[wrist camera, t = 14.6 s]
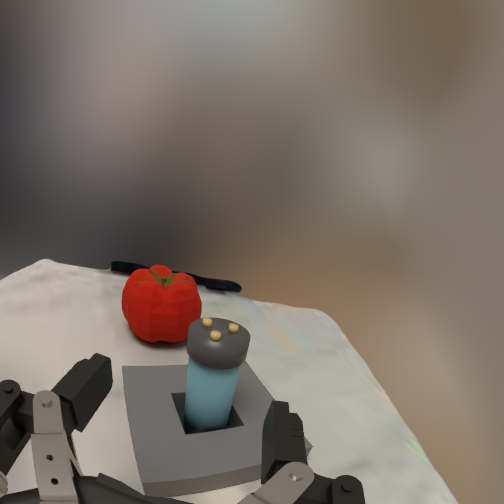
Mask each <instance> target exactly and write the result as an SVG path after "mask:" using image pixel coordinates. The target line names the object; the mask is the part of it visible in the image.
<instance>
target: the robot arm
mask: <svg viewBox="0 0 504 504" xmlns="http://www.w3.org/2000/svg"><path fill="white" fill-rule="evenodd" d="M112 383H113V378H112V368H111V359H110V358H109V357H106V356H103V355H101V354H98V353H95V354H94V355H93V356H92V357H91V358H90V359H89V360H88V359H83V360H81V361H79V362H77V363H76V364H75V365H74V366H73V367H72V369H70V370H69V372H68V373H67V374H66V375H65V376H64V377H63V378H62V379H61V380H60V381H59V382H58V383H57V384H56V386H55V387H54V388H53V389H52V390H51V391H46V390H45V391H40V392H38V393H37V394H36V395H35V394H31V393H27V392H24V391H21V389H20V386H19V384H18V383H17V382H15V381H13V380H4V381H2V382H0V504H193V503H188V502H184V501H180V500H176V499H172V498H164V497H153V496H145V495H142V494H141V493H139V492H137V491H135V490H134V489H132V488H131V487H129V486H127V485H126V484H124V483H123V482H121V481H118V480H116V479H113V478H111V477H109V476H106V475H104V474H102V473H99V475H98V477H93V476H83V474H82V471H81V469H80V466H79V463H78V459H77V455H76V450H75V446H74V441H73V437H72V432H73V430H74V429H76V430H78V431H80V432H82V431H83V430H84V428H85V427H86V425H87V424H88V422H89V421H90V419H91V418H92V416H93V415H94V413H95V412H96V411H97V409H98V408H99V406H100V405H101V403H102V402H103V400H104V399H105V397H106V396H107V394H108V393H109V392H110V390H111V387H112ZM8 419H9V420H8ZM7 420H8V421H7ZM4 424H5V425H4ZM30 438H31V443H32V452H33V460H34V467H35V473H36V479H37V484H38V488H35V489H31V490H26V491H22V492H17V493H12V494H7V495H6V493H7V492H8V488H7V486H8V483H7V479H6V475H7V473H8V472H9V470H10V468H11V467H12V465H13V464H14V462H15V460H16V459H17V457H18V456H19V454H20V453H21V451H22V450H23V448H24V447H25V445H26V444H27V442H28V441H29V439H30ZM261 484H264V485H263V486H262V487H260V488H259V489H258V490H257V491H256V492H254V493H251V494H249V495H248V496H246V497H245V498H244V499H242V500H241V501H240V502H239V503H237V504H365V498H364V492H363V487H362V484H361V482H360V481H359V480H358V479H357V478H355V477H353V476H350V475H342V476H339V477H337V478H336V479H331V478H327V477H323V476H320V475H318V474H316V473H314V472H313V470H312V469H311V468H310V467H309V466H308V463H307V456H306V448H305V440H304V432H303V424H302V420H301V419H300V417H299V416H298V414H297V413H289V404H288V402H283V401H275V400H272V402H271V404H270V407H269V410H268V412H267V415H266V417H265V420H264V424H263V430H262V462H261Z"/></svg>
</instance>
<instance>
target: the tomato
mask: <svg viewBox="0 0 504 504" xmlns="http://www.w3.org/2000/svg"><path fill="white" fill-rule="evenodd" d="M201 307H202V302H201V299H200V296H199V293H198V290H197V285H196V282H195V280H194V278H193V277H191V276H189V275H187V274H185V273H172V270H170V269H168V268H167V267H165V266H163V265H154V266H153V267H151V268H150V269H148V270H147V269H138V270H136V271H134V272H133V273H132V275H131V276H130V277H129V279H128V280H127V282H126V284H125V287H124V290H123V293H122V310H123V314H124V317H125V318H126V319H127V321H128V323H129V327H130V329H131V330H132V331H133V333H135V334H136V335H137V336H138V337H140V338H141V339H143V340H146V341H148V342H151V343H154V342H157V341H160V340H163V341H167V342H171V343H172V342H180V341H183V340H184V339H185V338H186V337H188V330H189V326H190V324H191V323H192V322H194V321H195V320H198V319H200V316H201Z"/></svg>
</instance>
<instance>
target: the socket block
mask: <svg viewBox="0 0 504 504" xmlns="http://www.w3.org/2000/svg"><path fill="white" fill-rule="evenodd" d="M122 373H123V384H124V393H125V401H126V408H127V415H128V421H129V427H130V433H131V438H132V443H133V448H134V453H135V457H136V462H137V466H138V470H139V474H140V478H141V482H142V486H143V489H144V493H145V496H153V497H171V496H179V495H187V494H194V493H200V492H206V491H211V490H216V489H221V488H226V487H230V486H234V485H239V484H243V483H246V482H250V481H254V480H257V479H261V462H262V430H263V424H264V420H265V417H266V415H267V412H268V410H269V407H270V404H271V402H272V400H275V399H274V398H273V397H272V396H271V394H270V393H269V392H268V390H267V389H266V388H265V386H264V385H263V384H262V382H261V381H260V380H259V379H258V377H257V376H256V374H255V373H254V372H253V370H252V369H251V368H250V366H249V365H248V364H247V362H246V361H244V362H243V364H241V366H240V370H239V375H238V379H237V384H236V388H235V393H234V397H233V401H232V406H231V410H230V415H229V419H228V423H227V427H226V429H223V430H216V431H210V432H203V433H195V434H187V435H185V432H184V430H183V420H184V407H185V395H186V384H187V373H188V365H169V366H122ZM304 440H305V448H306V456H308V454H309V452H310V450H311V449H312V447H313V446H312V445H311V444H310V442H309V441H308V440H307V439H306V438H305V437H304Z"/></svg>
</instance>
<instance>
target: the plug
mask: <svg viewBox="0 0 504 504" xmlns="http://www.w3.org/2000/svg"><path fill="white" fill-rule="evenodd" d="M249 342H250V334H249V332H248V331H247V330H246V329H245V328H244V327H242V326H241V325H239V324H237V323H235V322H232V321H229V320H226V319H221V318H202V319H198V320H195V321H194V322H192V323H191V324H190V326H189V330H188V339H187V353H188V355H189V363H188V373H187V384H186V395H185V407H184V420H183V430H184V432H185V435H187V434H195V433H203V432H210V431H216V430H223V429H226V427H227V423H228V419H229V415H230V410H231V406H232V401H233V397H234V393H235V388H236V384H237V379H238V375H239V370H240V366H241V364H243V362H244V361H245V359H246V355H247V351H248V346H249Z"/></svg>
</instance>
